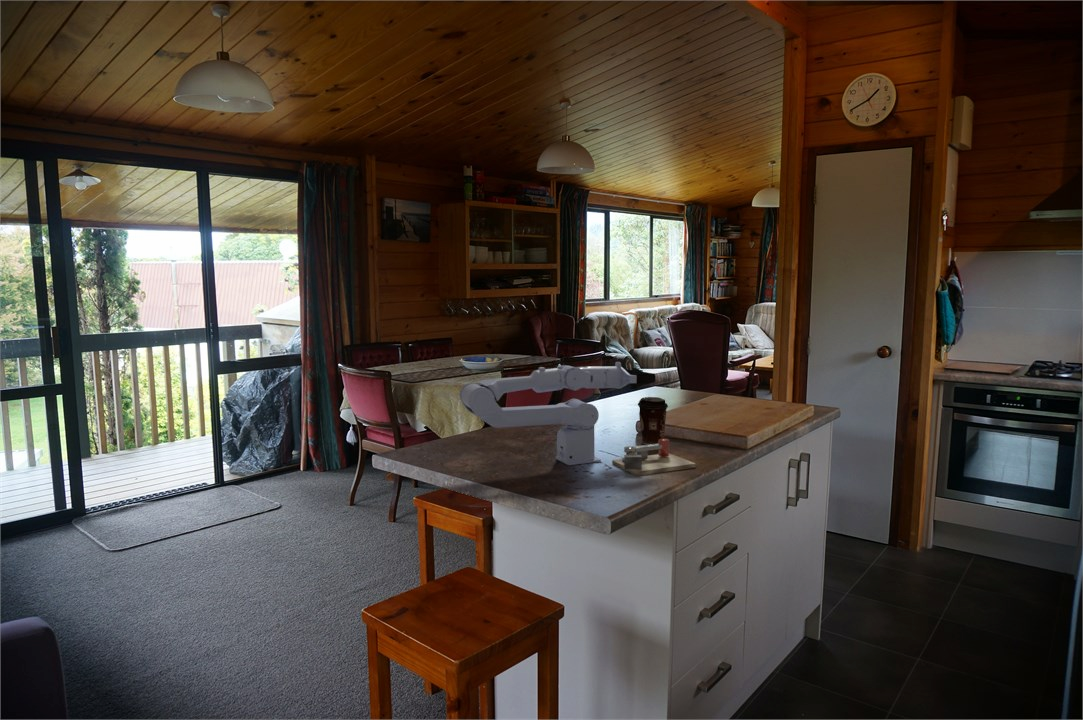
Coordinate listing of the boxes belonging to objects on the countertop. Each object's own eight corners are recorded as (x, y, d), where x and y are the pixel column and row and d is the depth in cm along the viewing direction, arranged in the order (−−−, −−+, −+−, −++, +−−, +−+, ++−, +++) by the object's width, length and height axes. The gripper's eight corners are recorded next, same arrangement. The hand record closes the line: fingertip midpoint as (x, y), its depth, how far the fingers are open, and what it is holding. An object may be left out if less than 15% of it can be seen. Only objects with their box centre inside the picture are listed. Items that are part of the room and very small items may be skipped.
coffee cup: (632, 444, 200) (633, 399, 199) (642, 438, 208) (642, 395, 206) (662, 447, 196) (662, 402, 195) (671, 441, 204) (671, 397, 202)
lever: (628, 462, 176) (628, 445, 176) (622, 459, 179) (622, 443, 179) (671, 456, 182) (671, 440, 181) (664, 453, 184) (665, 438, 184)
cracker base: (631, 476, 168) (631, 459, 168) (607, 464, 179) (607, 448, 179) (695, 467, 176) (695, 451, 175) (668, 456, 187) (668, 441, 186)
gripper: (614, 363, 177) (661, 363, 182) (590, 360, 190) (634, 360, 195) (614, 391, 177) (661, 390, 182) (589, 386, 191) (633, 385, 196)
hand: (647, 376), depth 189 cm, fingers open, 7 cm apart
